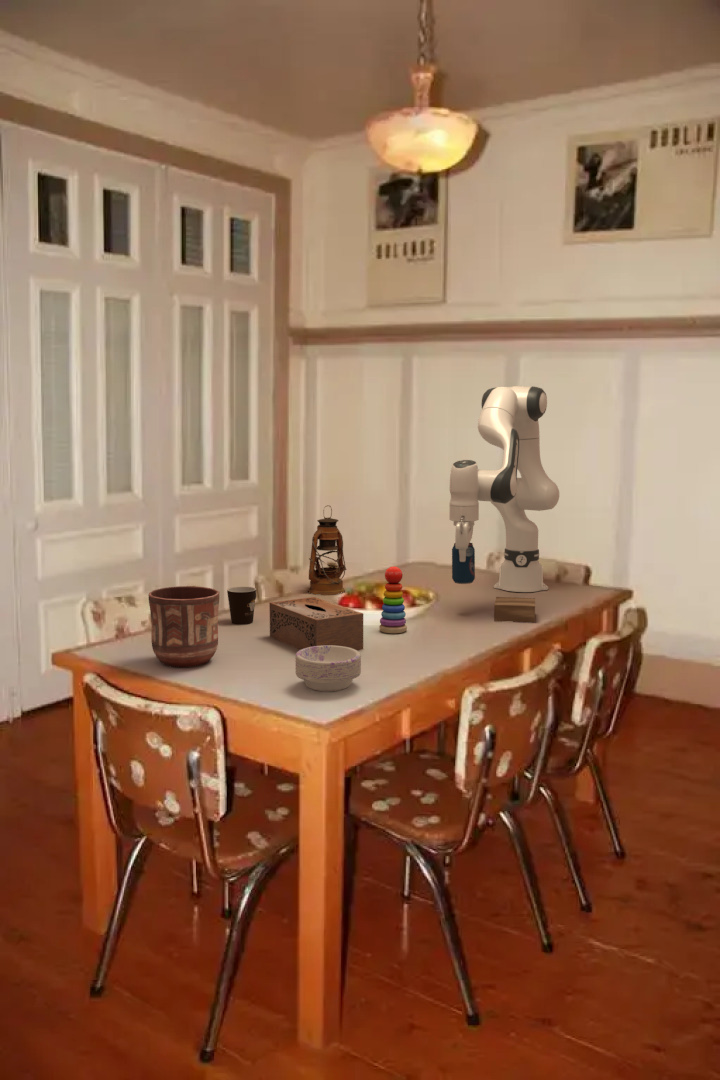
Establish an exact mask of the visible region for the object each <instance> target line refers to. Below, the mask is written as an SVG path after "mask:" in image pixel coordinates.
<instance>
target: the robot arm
mask: <svg viewBox="0 0 720 1080" xmlns="http://www.w3.org/2000/svg"><path fill="white" fill-rule="evenodd" d="M547 407H548V397H547V393H546V391H544V389H543V388H541V387H539V386H538V387H537V386H532V385H531V386H525V385H524V386H522V385H513V386H498V387H491V388H488V389H487V390H486V391H485V392H484V393H483V395H482V397H481V410H480V411H481V412H480V415H479V418H478V422H477V429H478V433H479V435H480V437H482V439H483V440H484V441H486V442H487V443H488V444H489V445H493V446H495V447H498V448H500V449H502V450H503V456H502V465H501V468H500V469H495V470H492V469H489V470H488V469H479V468H478V463H477V461H475V460H472V459H462V460H457V461H455V462H454V463H452V465H451V468H450V476H449V493H450V494H449V495H450V501H449V520H450V521H452V522H453V526H454V527H455V535H454V536H455V547H456V549H459V556H460V562H465V561H466V549H467V548H468V546H469V543H471V541H472V539H473V531H474V526H475V522H477V521H479V519H480V517H479V516H480V514H479V510H480V509H479V508H480V507H479V505H480V503H479V502H490V504H492V505H493V506H494V507H495V508H496V509H497V510H498V512H499V513H500V515H501V517H502V519H503V522H504V527H505V528H504V529H505V548H504V552H503V555H504V560H503V561H502V563H501V564H499V577H498V581H497V582H496V583H495V584H494V585H493V588H494V589H498V590H503V591H508V592H513V593H516V592H517V593H532V592H533V593H535V592H540V591H547V590H549V586H547V584H546V583H544V566H543V564H541V563H540V562H539V559H540V550H539V528H538V526H537V524H536V523H535V522H533V521H532V520H531V519H529V518H528V516H527V514H526V511H538V512H540V511H541V512H543V511H547V510H548V511H549V510H552V509H554V508H555V507H556V506H557V504H558V503H559V500H560V489H559V488H558V487H559V486H558V485H557V483H556V482H554V481H553V480H552V479H551V478H550V477H549V476H548V475H547V474H548V473H547V472H546V471H545V469H544V467H543V463H542V461H541V449H540V447H541V446H540V437H541V436H540V422H539V419H541V418H542V417H543V416H544V415H545V413H546V411H547ZM518 472H519V474H520V476H521V477H518Z"/></svg>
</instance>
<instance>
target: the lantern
mask: <svg viewBox="0 0 720 1080" xmlns="http://www.w3.org/2000/svg"><path fill="white" fill-rule="evenodd" d="M326 507H329V508H330V510H331V512H330V517H325V516H323V517H324V518H321V519H317V520H316V521H317V523H318V525H317V527H316V531H315V532H314V533H313V535H312V539H311V551H310V558H308V559H309V569H308V580H309V588H308V590H307V592H308V591H309V592H310V593H309V594H311V593H313V594H312V595H316V594H321V595H320V596H333V595H339V594H338V593H341V592H344V591H345V592H346V590H345V588H344V586H343V585H344V581H343V578H344V577H345V575H346V571H347V568H346V561H345V556H344V539H343V535H342V533H341V531H340V530H339V528H338V526H337V523H338V522H339V519H336V518H332V514H333V509H332V507H331V505H325V506H324V507H323V514H325V508H326ZM318 541H319V542H318ZM318 543H319V544H318ZM319 551H323V553H322V554H320V553H319ZM326 551H327V552H326ZM332 553H336V555H337V557H336V558H337V559H334V558H331V557H329V556H327V555H329V554H332ZM322 557H324V558H327V559H329V560H332V561H334V563H337V564H338V565H335V564H334V565H333V564H327V563H325V562H324V561H323V560H322V559H321V558H322ZM323 563H324V564H326V565H327V566H328V567H327V566H326V567H325V566H323ZM340 577H341V578H340ZM345 592H344V593H345ZM341 594H342V593H341Z"/></svg>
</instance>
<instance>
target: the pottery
mask: <svg viewBox="0 0 720 1080" xmlns="http://www.w3.org/2000/svg"><path fill="white" fill-rule="evenodd" d="M148 605H149V610H150V612H149V613H150V621H151V627H150V628H151V630H150V631H151V633H150V634H151V642H150V643H151V648H152V651H153V654H154V655H155V657H156V659H158V660H159V661H160V662H161V664H162V665H164V666H166V665H167V667H169V666H171V667H170V668H182V669H183V668H193V667H200V666H203V665H205V664H207V663H208V662H209V661H210V660H211V659H212V658H213V657H214V655H215V654H216V652H217V650H218V647H219V609H220V608H219V606H220V591H219V590H218V589H217V590H216V589H214V588H211V587H204V586H195V585H194V586H191V585H190V586H189V585H187V586H185V585H184V586H183V585H179V586H167V587H162V588H157V589H154V590H152V591H150V592H149V593H148Z"/></svg>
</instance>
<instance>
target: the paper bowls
mask: <svg viewBox="0 0 720 1080" xmlns="http://www.w3.org/2000/svg"><path fill="white" fill-rule="evenodd" d="M361 658H362V655H361V652H360V651H359V650H355V649H352V648H349V647H343V646H333V645H323V646H313V647H308V648H304V649H301V650H300V649H298V651H296V653H295V657H294V659H295V675H296V677H298V678H299V679H301V680H303V682H304V684H305V685H306V686H307V687H308V688H309V689H312V690H313V691H319V692H337V691H342V690H345V689H347V688H348V687H350V685H351V684H352V682H353V680H354V679H356V678H358V677H359V676H360V675H361V672H362V671H361V670H362V659H361Z"/></svg>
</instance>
